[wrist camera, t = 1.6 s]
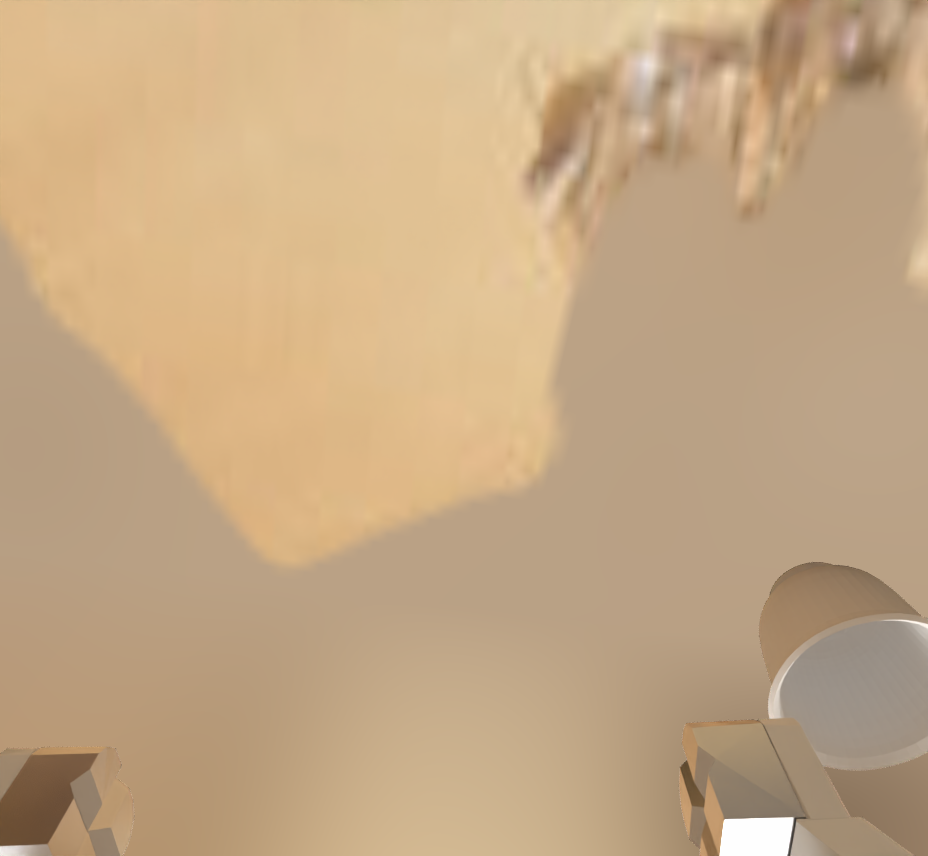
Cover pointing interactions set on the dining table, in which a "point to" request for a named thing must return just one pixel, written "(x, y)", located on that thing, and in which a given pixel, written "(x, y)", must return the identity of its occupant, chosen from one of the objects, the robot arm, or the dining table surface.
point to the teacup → (847, 665)
